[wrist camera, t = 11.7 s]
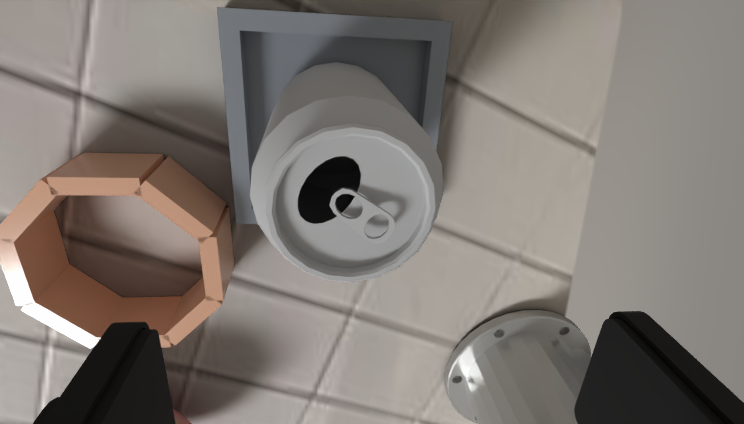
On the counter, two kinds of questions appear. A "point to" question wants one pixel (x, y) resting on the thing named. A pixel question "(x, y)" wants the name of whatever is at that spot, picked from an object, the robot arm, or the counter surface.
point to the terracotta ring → (82, 293)
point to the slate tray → (314, 47)
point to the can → (345, 176)
